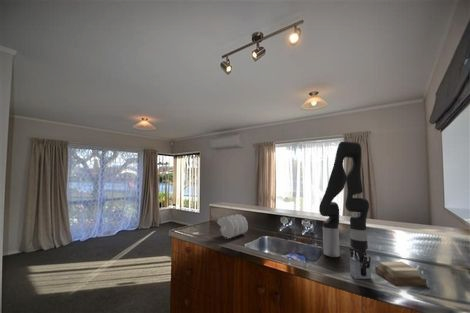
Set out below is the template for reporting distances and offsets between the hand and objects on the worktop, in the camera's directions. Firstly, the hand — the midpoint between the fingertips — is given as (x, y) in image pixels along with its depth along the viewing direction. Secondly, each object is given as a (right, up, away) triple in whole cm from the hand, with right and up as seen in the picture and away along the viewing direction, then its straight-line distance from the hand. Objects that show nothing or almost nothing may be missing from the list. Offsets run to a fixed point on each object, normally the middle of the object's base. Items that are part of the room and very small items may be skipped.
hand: (360, 273), depth 104 cm
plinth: (+18, -2, -2) cm, 18 cm away
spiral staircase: (-64, -9, +70) cm, 95 cm away
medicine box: (0, -2, 0) cm, 2 cm away
